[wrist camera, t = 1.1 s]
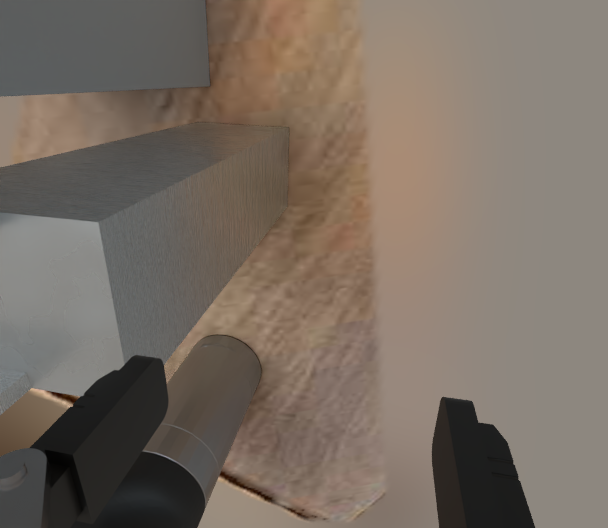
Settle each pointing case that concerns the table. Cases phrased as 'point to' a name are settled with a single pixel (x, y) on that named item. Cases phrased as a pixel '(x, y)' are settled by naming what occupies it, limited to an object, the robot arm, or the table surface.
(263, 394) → the table surface
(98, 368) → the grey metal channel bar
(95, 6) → the stand
